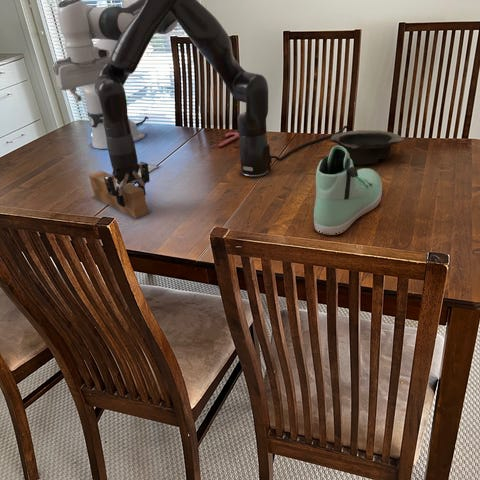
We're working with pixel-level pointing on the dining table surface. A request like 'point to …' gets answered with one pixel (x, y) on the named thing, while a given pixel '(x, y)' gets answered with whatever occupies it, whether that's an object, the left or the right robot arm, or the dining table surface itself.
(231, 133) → the candy cane
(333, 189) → the sneaker
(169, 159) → the dining table surface
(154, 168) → the baking ingredient package
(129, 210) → the bar
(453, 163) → the dining table surface
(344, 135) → the stone bowl
